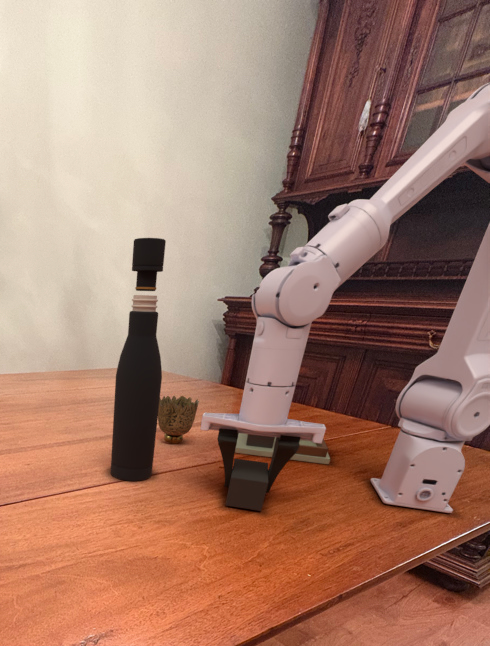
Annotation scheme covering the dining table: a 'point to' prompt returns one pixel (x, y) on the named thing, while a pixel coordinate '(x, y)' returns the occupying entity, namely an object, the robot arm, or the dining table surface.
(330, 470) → the dining table surface
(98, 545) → the dining table surface
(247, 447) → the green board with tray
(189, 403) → the cup
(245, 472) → the loose block
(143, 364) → the black bottle
